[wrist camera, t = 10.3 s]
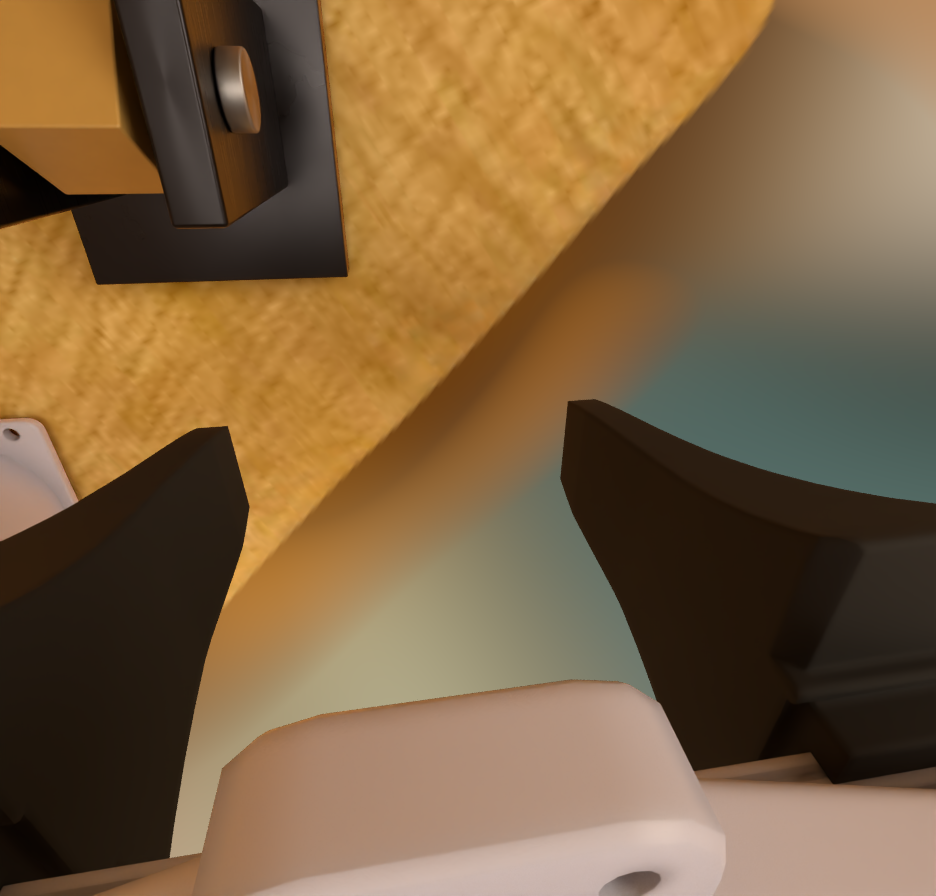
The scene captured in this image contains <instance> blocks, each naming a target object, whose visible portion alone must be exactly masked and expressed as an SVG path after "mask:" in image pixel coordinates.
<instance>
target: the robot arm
mask: <svg viewBox="0 0 936 896" xmlns="http://www.w3.org/2000/svg"><path fill="white" fill-rule="evenodd" d="M9 429H13V430H15V431H17V432H18V433H19V436H18V435H15V434H13V433H12V432H11V431H10V430H9ZM560 478H561V482H562V485H563V488H564V491H565V494H566V497H567V500H568V502H569V505H570V508H571V510H572V513H573V515H574V517H575V519H576V521H577V523H578V525H579V527H580V529H581V531H582V533H583V535H584V536H585V538H586V540H587V542H588V544H589V546H590V548H591V550H592V552H593V554H594V555H595V557H596V559H597V561H598V563H599V565H600V566H601V568H602V570H603V572H604V574H605V576H606V578H607V580H608V581H609V583H610V585H611V587H612V589H613V591H614V593H615V595H616V597H617V599H618V601H619V603H620V605H621V608H622V610H623V612H624V615H625V617H626V620H627V623H628V625H629V627H630V630H631V633H632V635H633V637H634V640H635V643H636V645H637V648H638V650H639V653H640V656H641V659H642V661H643V664H644V667H645V669H646V672H647V675H648V678H649V680H650V683H651V686H652V688H653V691H654V694H655V697H656V700H657V701H655V700H654V699H652V698H650V697H649V696H647V695H645V694H644V693H642V692H641V691H639V690H637V689H636V688H634V687H632V686H631V685H629V684H626V683H622V682H618V681H597V680H564V681H557V682H550V683H543V684H536V685H528V686H521V687H514V688H508V689H500V690H493V691H485V692H478V693H471V694H464V695H457V696H449V697H443V698H435V699H428V700H421V701H413V702H406V703H399V704H392V705H385V706H378V707H371V708H363V709H356V710H349V711H342V712H334V713H327V714H321V715H317V716H314V717H311V718H308V719H305V720H301V721H298V722H295V723H292V724H288V725H285V726H282V727H278V728H275V729H272V730H269V731H267V732H265V733H264V734H262V735H260V736H259V737H257V738H256V739H255V740H254V741H253V742H252V743H251V744H249V745H248V746H247V747H246V748H245V749H244V750H243V751H241V752H240V753H239V754H238V755H237V756H236V757H235V758H234V759H232V760H231V761H230V762H229V763H228V764H227V765H226V766H225V767H223V768H222V772H221V776H220V780H219V784H218V788H217V793H216V797H215V801H214V805H213V809H212V813H211V818H210V822H209V826H208V830H207V834H206V839H205V843H204V847H203V851H202V853H199V854H192V855H187V856H180V857H174V858H169V857H170V850H171V843H172V835H173V828H174V822H175V816H176V810H177V804H178V798H179V791H180V786H181V779H182V773H183V767H184V761H185V756H186V751H187V746H188V740H189V735H190V730H191V725H192V720H193V714H194V709H195V704H196V700H197V695H198V691H199V686H200V681H201V677H202V672H203V667H204V663H205V659H206V656H207V652H208V648H209V645H210V642H211V638H212V635H213V633H214V630H215V627H216V624H217V621H218V618H219V615H220V612H221V609H222V607H223V604H224V601H225V598H226V595H227V592H228V589H229V586H230V583H231V581H232V578H233V575H234V572H235V569H236V566H237V563H238V560H239V557H240V553H241V550H242V547H243V542H244V537H245V532H246V526H247V519H248V513H249V503H248V499H247V496H246V492H245V488H244V485H243V481H242V477H241V473H240V470H239V466H238V462H237V459H236V455H235V451H234V447H233V444H232V440H231V436H230V433H229V429H228V426H223V427H209V428H196V429H194V430H192V431H190V432H188V433H186V434H185V435H183V436H181V437H180V438H178V439H176V440H175V441H173V442H172V443H170V444H169V445H167V446H166V447H164V448H163V449H161V450H159V451H158V452H156V453H155V454H153V455H152V456H150V457H149V458H147V459H146V460H144V461H143V462H141V463H140V464H138V465H137V466H135V467H134V468H132V469H131V470H129V471H128V472H126V473H125V474H123V475H121V476H120V477H118V478H117V479H115V480H113V481H112V482H110V483H108V484H107V485H105V486H103V487H102V488H100V489H98V490H97V491H95V492H93V493H92V494H90V495H88V496H87V497H85V498H83V499H82V500H80V501H78V499H77V497H76V494H75V492H74V490H73V488H72V486H71V484H70V481H69V479H68V477H67V475H66V473H65V470H64V468H63V466H62V464H61V462H60V459H59V457H58V455H57V453H56V451H55V449H54V446H53V444H52V442H51V440H50V438H49V435H48V433H47V431H46V429H45V427H44V426H43V425H42V424H41V423H40V422H39V421H37V420H35V419H32V418H13V419H0V896H936V504H934V503H926V502H919V501H911V500H903V499H895V498H888V497H882V496H877V495H871V494H866V493H859V492H854V491H849V490H844V489H839V488H834V487H830V486H825V485H820V484H815V483H812V482H808V481H803V480H800V479H796V478H792V477H788V476H784V475H780V474H776V473H773V472H769V471H766V470H763V469H759V468H756V467H753V466H750V465H747V464H744V463H741V462H738V461H736V460H732V459H729V458H727V457H724V456H721V455H719V454H715V453H713V452H710V451H708V450H706V449H703V448H701V447H699V446H696V445H694V444H692V443H689V442H687V441H684V440H682V439H680V438H678V437H676V436H673V435H671V434H669V433H667V432H665V431H663V430H660V429H658V428H656V427H654V426H652V425H650V424H648V423H646V422H644V421H642V420H640V419H638V418H636V417H634V416H632V415H630V414H628V413H626V412H624V411H622V410H620V409H617V408H615V407H613V406H611V405H609V404H606V403H604V402H601V401H598V400H595V399H593V400H578V401H568V407H567V418H566V427H565V437H564V447H563V457H562V467H561V477H560Z"/></svg>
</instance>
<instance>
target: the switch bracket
mask: <svg viewBox="0 0 936 896" xmlns="http://www.w3.org/2000/svg"><path fill="white" fill-rule="evenodd" d="M113 1H114V5H115V9H116V12H117V16H118V20H119V24H120V28H121V32H122V35H123V39H124V43H125V47H126V51H127V55H128V58H129V62H130V66H131V70H132V74H133V78H134V81H135V85H136V89H137V93H138V97H139V101H140V104H141V108H142V112H143V116H144V120H145V123H146V127H147V131H148V135H149V139H150V143H151V146H152V150H153V154H154V158H155V162H156V166H157V169H158V173H159V177H160V181H161V185H162V189H163V192H164V193H154V194H65V193H63V192H62V191H61V190H59V189H58V188H57V187H55V186H54V185H53V184H51V183H50V182H49V181H47V180H46V179H45V178H43V177H42V176H41V175H39V174H38V173H37V172H35V171H34V170H33V169H32V168H30V167H29V166H28V165H26V164H25V163H24V162H22V161H21V160H20V159H18V158H17V157H16V156H14V155H13V154H12V153H10V152H9V151H8V150H6V149H5V148H4V147H2V146H1V145H0V229H2V228H6V227H10V226H13V225H17V224H21V223H24V222H28V221H32V220H35V219H39V218H43V217H47V216H50V215H54V214H58V213H61V212H65V211H69V210H71V211H72V214H73V217H74V220H75V222H76V225H77V228H78V231H79V234H80V237H81V240H82V243H83V245H84V248H85V251H86V254H87V257H88V260H89V263H90V266H91V269H92V271H93V274H94V277H95V280H96V283H97V284H98V285H104V284H136V283H167V282H199V281H231V280H263V279H295V278H327V277H347V276H348V271H349V262H348V253H347V244H346V235H345V225H344V216H343V207H342V197H341V188H340V179H339V169H338V160H337V151H336V141H335V132H334V123H333V113H332V104H331V95H330V85H329V76H328V67H327V58H326V48H325V39H324V30H323V20H322V11H321V2H320V0H113Z"/></svg>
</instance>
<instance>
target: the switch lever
mask: <svg viewBox="0 0 936 896" xmlns="http://www.w3.org/2000/svg"><path fill="white" fill-rule="evenodd" d="M0 145H1V146H2V147H4V148H5V149H6V150H8V151H9V152H10V153H12V154H13V155H14V156H16V157H17V158H18V159H20V160H21V161H22V162H24V163H25V164H26V165H28V166H29V167H30V168H32V169H33V170H34V171H35V172H37V173H38V174H39V175H41V176H42V177H43V178H45V179H46V180H47V181H49V182H50V183H51V184H53V185H54V186H55V187H57V188H58V189H59V190H61V191H62V192H63V193H65V194H154V193H164V192H163V189H162V185H161V181H160V177H159V173H158V169H157V166H156V162H155V158H154V154H153V150H152V146H151V143H150V139H149V135H148V131H147V127H146V123H145V120H144V116H143V112H142V108H141V104H140V101H139V97H138V93H137V89H136V85H135V81H134V78H133V74H132V70H131V66H130V62H129V58H128V55H127V51H126V47H125V43H124V39H123V35H122V32H121V28H120V24H119V20H118V16H117V12H116V9H115V5H114V1H113V0H0Z"/></svg>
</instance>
